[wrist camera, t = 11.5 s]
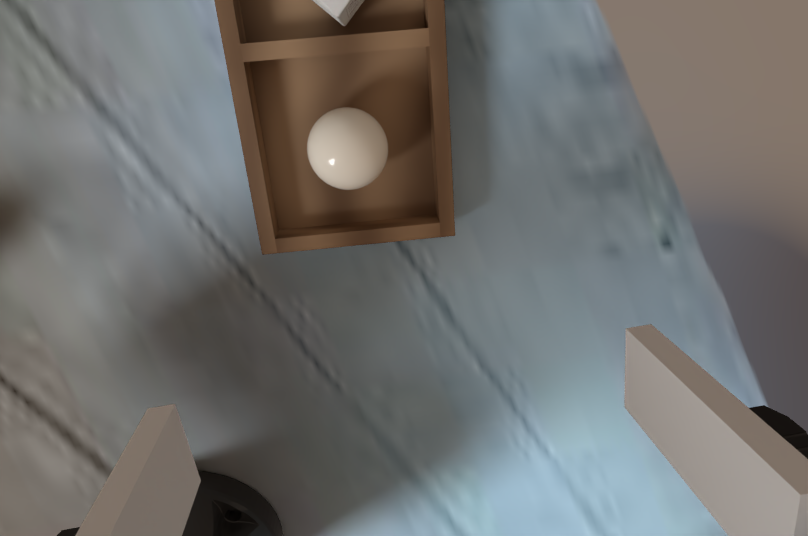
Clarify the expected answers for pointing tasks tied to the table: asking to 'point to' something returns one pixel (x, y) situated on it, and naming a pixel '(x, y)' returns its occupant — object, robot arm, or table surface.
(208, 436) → the table surface
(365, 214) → the caddy
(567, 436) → the table surface
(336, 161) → the white ball
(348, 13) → the supplement box
